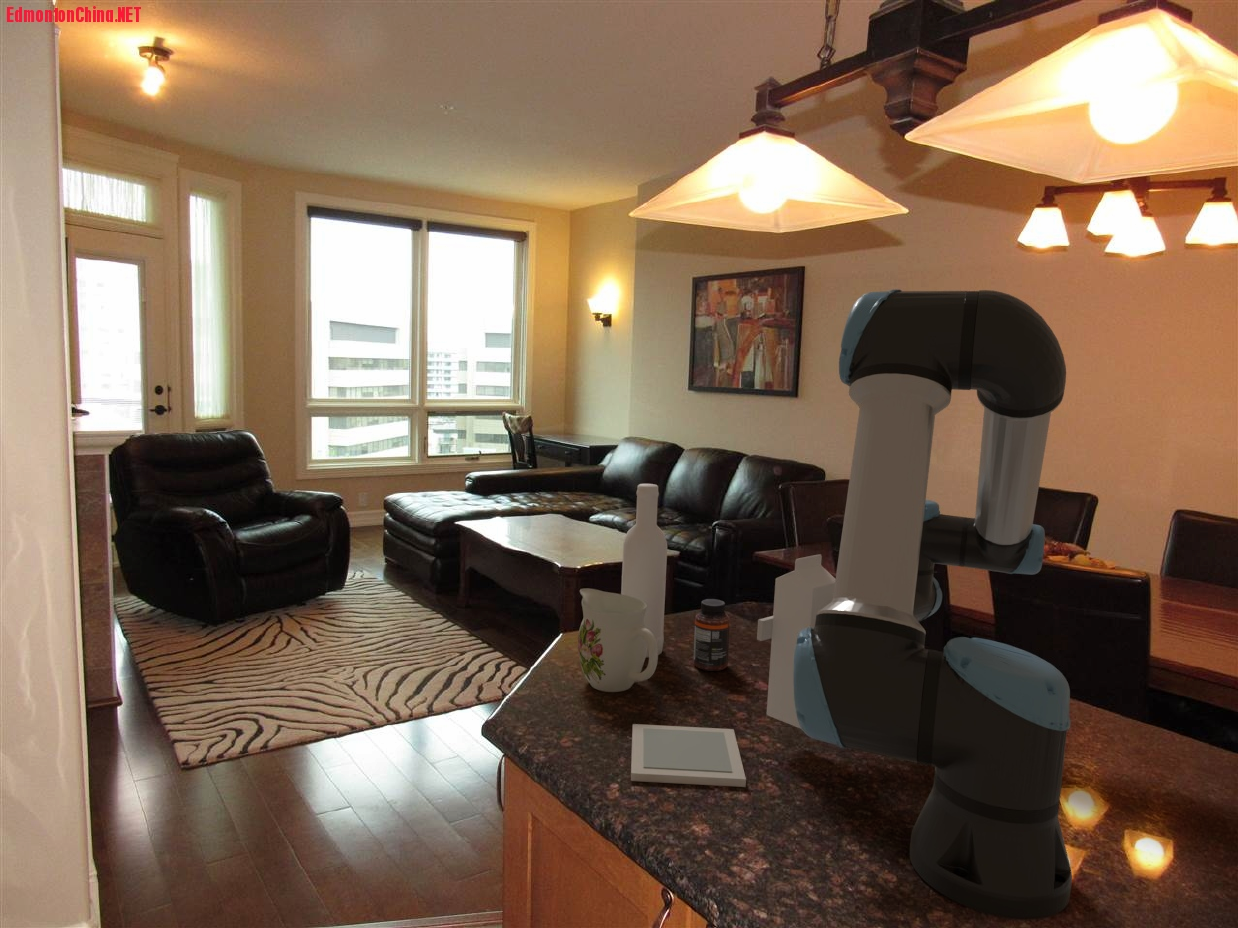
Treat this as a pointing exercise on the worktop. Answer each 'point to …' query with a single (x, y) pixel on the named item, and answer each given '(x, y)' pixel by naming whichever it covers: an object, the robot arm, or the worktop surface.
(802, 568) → the milk
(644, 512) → the bottle
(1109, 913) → the worktop surface
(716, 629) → the supplement bottle
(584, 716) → the worktop surface
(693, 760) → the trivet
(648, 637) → the pitcher
